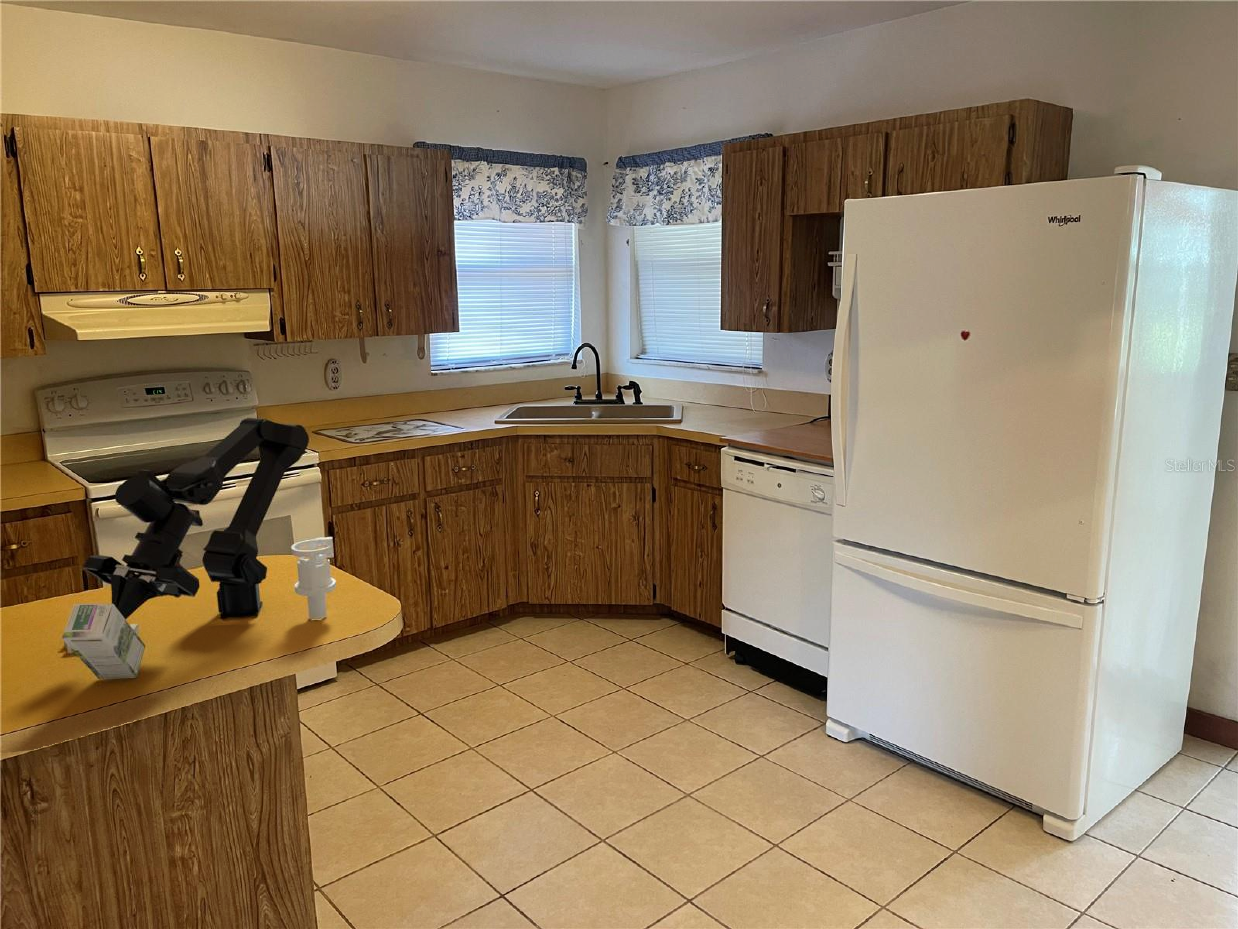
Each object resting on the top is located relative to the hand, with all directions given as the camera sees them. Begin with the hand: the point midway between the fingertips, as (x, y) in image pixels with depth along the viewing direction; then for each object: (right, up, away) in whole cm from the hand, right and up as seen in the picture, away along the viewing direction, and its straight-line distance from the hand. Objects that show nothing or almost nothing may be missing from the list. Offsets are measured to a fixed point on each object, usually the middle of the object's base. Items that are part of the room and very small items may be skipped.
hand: (114, 624), depth 139 cm
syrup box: (0, -6, +2) cm, 7 cm away
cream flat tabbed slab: (-9, -5, +14) cm, 17 cm away
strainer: (+23, -3, +24) cm, 34 cm away
